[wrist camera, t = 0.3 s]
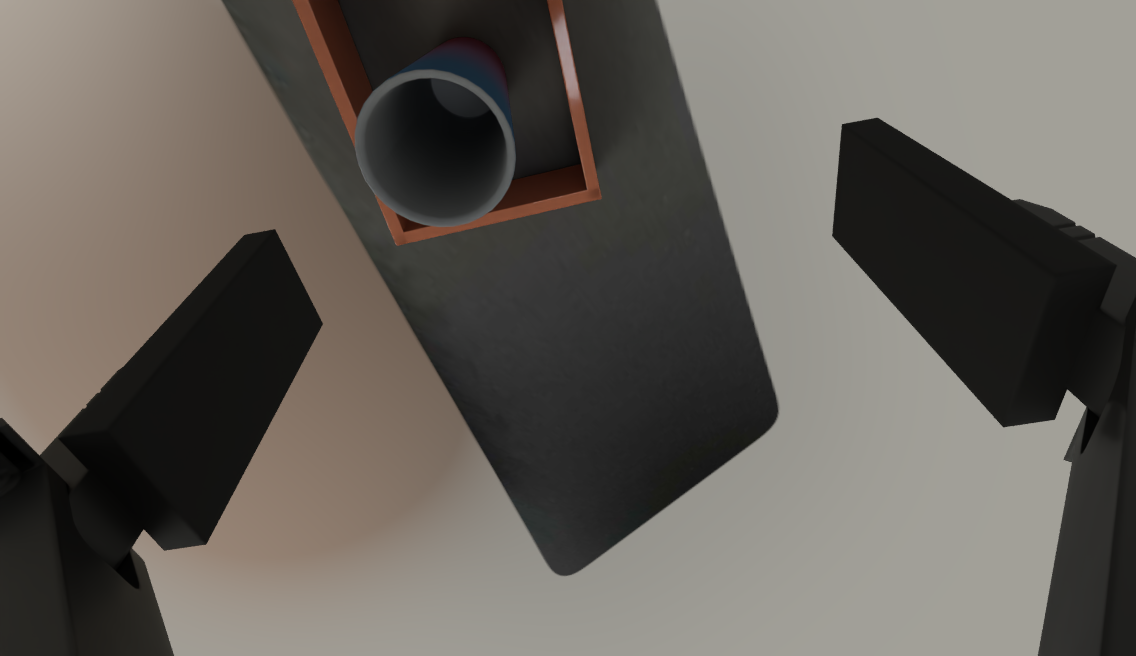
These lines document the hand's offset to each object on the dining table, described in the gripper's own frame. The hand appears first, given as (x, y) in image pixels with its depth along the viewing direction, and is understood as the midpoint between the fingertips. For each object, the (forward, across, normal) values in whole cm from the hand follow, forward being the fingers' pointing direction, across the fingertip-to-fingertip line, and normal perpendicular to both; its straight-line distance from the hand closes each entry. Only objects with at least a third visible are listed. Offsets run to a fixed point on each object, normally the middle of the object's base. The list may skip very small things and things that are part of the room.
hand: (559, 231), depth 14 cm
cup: (+28, -6, -2) cm, 28 cm away
